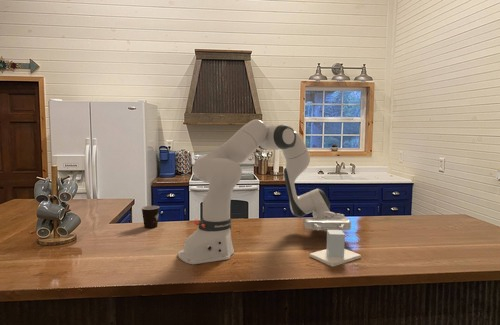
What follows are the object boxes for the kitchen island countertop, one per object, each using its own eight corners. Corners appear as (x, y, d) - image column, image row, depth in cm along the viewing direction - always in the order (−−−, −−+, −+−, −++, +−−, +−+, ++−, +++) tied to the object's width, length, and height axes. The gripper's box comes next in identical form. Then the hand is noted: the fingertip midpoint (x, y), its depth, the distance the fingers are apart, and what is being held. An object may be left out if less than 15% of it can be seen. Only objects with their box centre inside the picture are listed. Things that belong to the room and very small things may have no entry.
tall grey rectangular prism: (328, 256, 132) (329, 234, 131) (326, 251, 138) (327, 229, 137) (344, 257, 132) (344, 234, 131) (340, 251, 137) (341, 230, 136)
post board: (332, 266, 125) (333, 245, 125) (309, 256, 135) (310, 236, 134) (360, 257, 134) (361, 237, 133) (337, 248, 144) (338, 229, 143)
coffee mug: (149, 230, 168) (148, 210, 167) (138, 227, 173) (138, 207, 172) (167, 225, 177) (167, 206, 176) (157, 222, 182) (156, 203, 181)
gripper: (302, 213, 160) (305, 221, 146) (346, 214, 159) (354, 222, 145) (302, 226, 161) (305, 235, 147) (346, 227, 159) (353, 236, 146)
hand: (330, 229), depth 146 cm, fingers open, 8 cm apart
